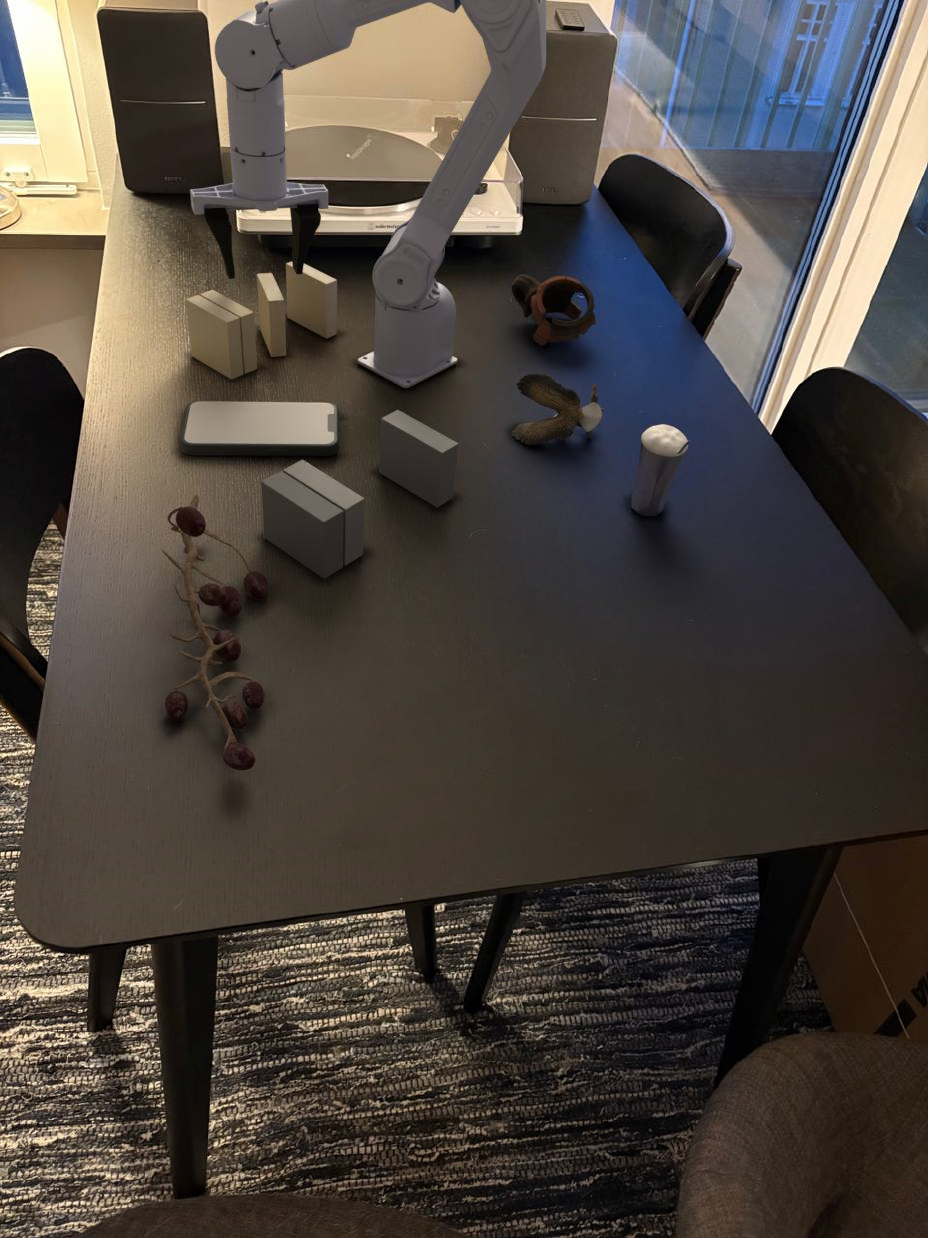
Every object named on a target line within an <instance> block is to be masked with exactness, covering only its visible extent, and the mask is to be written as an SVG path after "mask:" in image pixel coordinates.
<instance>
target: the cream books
mask: <svg viewBox="0 0 928 1238" xmlns="http://www.w3.org/2000/svg"><path fill="white" fill-rule="evenodd" d="M285 277H286V278H285V279H286V281H285V282H286V283H285V284H286V313H287V315H286V316H287V319H289V320H291V321H293V322H295V323H296V324H298V325H301V326H302V327H304V328H306V329H307V330H309V331H311V332H313V333H315V334H316V335H319V336H321V337H322V338H324V339H329V338H331V337H334V336H336V335H338V280H337V279H336V278H334V277H331V276H330V275H328V274H326V273H324V272H322V271H320V270H318V269H316V268H314V267H312V266H310V265H308V264H306V263H304V266H303V274H299V275H297V274H296V272H295V270H294V268H293V264H292V261H289V262H286V263H285ZM185 306H186V307H185V308H186V315H187V325H188V333H189V342H190V343H189V344H190V352H191V356H192V357H193V358H194V359H195V360H197V361H199V362H201V363H203V364H204V365H206V366H208V367H210V368H211V369H213V370H214V371H216V372H218V373H219V374H221V375H223V376H224V377H226V378H228V379H230V380H234V379H237V378H239V377H241V376H243V375H246V374H249V373H250V372H253V371H255V370H257V369H258V362H257V345H256V344H257V343H256V328H255V313H254V311H252V310H251V309H249V308H247V307H246V306H243V305H241V304H240V303H238V302H236V301H234V300H233V299H230V298H229V297H227V296H225V295H223V294H222V293H220V292H218V291H216V290H214V289H210V290H208V291H205V292H202V293H200V294H197V295H193V296H191V297H188V298H186V299H185Z"/></svg>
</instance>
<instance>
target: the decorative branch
mask: <svg viewBox="0 0 928 1238" xmlns="http://www.w3.org/2000/svg"><path fill="white" fill-rule="evenodd" d="M199 501H200V496H199V495H198V494H195V495H194V496H193V498H192V499H191V501H190V504H189V506H180V507H177V508H175V509H173V510H171V511H170V512H169V513H168V515H167V522H168V523H169V524H170V526H171V527H170V530H171V531H173V532H174V533H175V532H176V533H179V534H180V536H181V539H182V542H183V544H184V546H185V547H184V549H183V552H184V554H187V555H186V558H185V560H184V563H183V564H181V563H179V562H178V561H176V560H175V559H174V558H173V557H172V556H171V555H169V554H168V553H167V552H166V551H165V550H164V549H162V548H160V550H161V552H162V553H163V554H164V555H165V556H166V557H167V559H168V560H169V561H170V562H171V563H172V564H173V565H174V566H175V567H176V568H177V570H179V571H180V572H181V573H182V576H183V582H184V587H185V588H184V589H185V592H186V597H187V598H183V596H181V593H180V591H179V589H178V586H177V584H176V582H173V586H174V591H175V594H176V595H177V597H178V599H179V600H180V601H181V602H187V608H188V610H189V614H190V617H191V620H192V623H193V624H194V627H195V630H196V633H195V634H194V635H193V636H191V637H189V638H183V637H181V636H176V635H173V634H168V635H169V637H171V638H172V639H174V640H178V641H180V642H183V643H187V644H189V643H192V642H193V641H195V640H197V639H200V640H201V642H202V643H203V644H204V646H205V648H206V652H205V653H204V656H202V657H199V656H195V655H191V654H189V653H186V652H184V651H183V650H179V654H180V655H182V656H183V657H185V658H187V659H189V660H191V661H194V662H197V663H199V664H200V665H199V669H198V672H197V673H196V674H195V675H194V676H192V677H191V678H189V679H188V680H186V681H185V682H183V683H181V684H180V685H178V686H176V687H175V688H173V690H174V691H170V692H169V693H168V694H167V695H166V698H165V702H164V707H165V712H166V714H167V717H168V718H169V719H170V720H171V721H173V722H180V721H182V720H183V719H184V718H185V717H186V714H187V710H188V707H189V701H188V697H187V695H186V694H185V693H184V692H183V691H180V690H179V689H181V688H183V687H185V686H188V685H190V684H193V683H195V682H200V685H201V686H202V689H203V692H204V694H205V697H206V699H207V703H206V706H205V709H208V708H209V706H211V708H212V709H213V711H214V713H215V715H216V717H217V718H218V719H219V721H220V722H221V724H222V727H223V729H224V732H225V734H226V737H227V740H226V743H225V746H224V749H223V753H222V757H223V762H224V763H225V764H226V765H227V766H228V767H229V768H231V769H233V770H236V771H248V770H250V769H252V768H253V767H254V765H255V763H256V756H255V753H254V752H253V751H252V750H251V748H249V746H246V745H244V744H242V743H239V742H238V740H237V739H236V737H235V735H234V732H233V730H232V728H233V729H235V730H242V729H244V728H246V727H247V726H248V723H249V716H248V713H247V711H246V710H245V708H244V707H243V705H241V704H240V703H238V702H236V701H229V700H230V699H234V698H237V694H229V695H227V696H226V697H224V698H223V699H220V698H219V697H217V696H215V694H214V692H213V689H214V687H215V686H216V685H217V684H218V683H220V682H221V681H222V680H226V679H241V680H246V681H249V682H247V683H246V684H244V686H243V687H242V693H241V695H242V700H243V702H244V703H245V705H246V707H248V709H250V710H259V709H261V707H262V706H264V702H265V696H266V695H265V689H264V687H263V685H262V684H261V683H260V682H257V681H254V678H252V677H251V676H249V675H247V674H244V673H240V672H237V671H227V672H224V673H220V674H219V675H217V676H215V677H214V678H213V679H210V680H209V679H208V677H207V668H208V666H209V665H210V666H217V665H218V666H219V665H223V662H222V661H224V662H227V663H229V662H230V663H234V662H236V661H237V660H239V659H240V656H241V654H242V653H241V652H242V645H241V641H240V639H239V637H238V636H237V635H236V633H234V632H233V631H231V630H228V629H224V630H223V629H220V628H219V627H217V626H214V625H211V624H208V623H207V622H203V620H202V619H201V609H200V603H199V602H198V601H197V597H196V594H197V595H198V598H199V600H200V601H201V603H203V604H205V606H210V607H217V608H218V609H219V611H220V612H221V613H222V614H223V615H224V616H226V617H229V618H235V617H237V616H238V615H239V614H240V613H241V611H242V608H243V596H242V594H241V592H240V590H239V589H237V588H236V587H234V586H230V585H227V584H225V583H224V582H223V581H221V580H219V579H217V578H215V577H213V576H212V575H210V574H208V573H206V572H205V571H203V570H202V569H201V568H200V567H199V565H198V564H197V562H196V560H198V561H200V562H205V561H206V556H205V555H202V556H201V555H199V554H198V553H199V552H198V549H197V548H196V547H195V545H194V542H193V540H192V538H198V537H200V536H202V535H203V534H204V535H206V536H207V537H210V538H213V539H214V540H216V541H218V542H219V543H221V544H224V545H227V546H229V547H231V548H232V549H233V550H234V551H236V553H237V554H238V556H239V557H240V558H241V559H242V561H243V563H244V565H245V567H246V568H247V571H248V573H246V574H245V576H244V577H243V581H242V583H243V584H242V587H243V589H244V592H245V593H246V595H247V596H248V597H250V598H251V599H253V600H255V601H263V600H265V599H266V598H267V596H268V594H269V591H270V585H269V581H268V578H267V577H266V576H265V574H263V573H262V572H260V571H257V570H253V571H250V567H249V565H248V563H247V561H246V559H245V558H244V556H243V554H242V553H241V552H240V551H239V550H238V549H237V548H236V547H235V546H233V544H231V543H230V542H228V541H226V540H224V539H222V538H221V537H219V536H218V535H216V534H215V533H213V532H212V531H211V530H209V529H207V522H206V519H205V517H204V515H203V514H202V513H201V511H200V510H198V506H199ZM174 514H175V523H174V522H172V521H171V519H172V516H173V515H174ZM192 570H196V571H197V572H198V573H199V574H201V575H202V576H203V577H204V578H207V579H209V580H211V581H213V582H216V583H217V584H216V583H211V582H208V583H204V584H203V585H202V586H201V587H200V588H195V587H194V584H193V571H192ZM219 584H220V585H222V586H223V587H221V586H220V585H219ZM206 629H207V630H210V631H215V632H216V633H215V634H214V636H213V640H212V638H211V636H210V635H209V634H208V632H207V630H206ZM215 654H216V655H217V656H218V657H219V658H220V659H221V660H222V661H218V660H217V661H216V660H212V658H213V657H214V655H215ZM226 702H227V703H226ZM220 704H224V705H222V707H221V706H220Z"/></svg>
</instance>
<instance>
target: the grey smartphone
mask: <svg viewBox="0 0 928 1238" xmlns="http://www.w3.org/2000/svg"><path fill="white" fill-rule="evenodd" d="M339 422H340V421H339V408H338V406H337V405H336V404H335V403H333V402H329V401H260V400H259V401H258V400H256V401H255V400H254V401H253V400H250V401H249V400H194V401H191V402H189V403H188V404H187V405H186V407H185V412H184V417H183V421H182V428H181V433H180V438H179V444H180V449H181V451H182V452H183V453H184V454H185V455H189V456H251V457H252V456H260V457H265V456H268V457H269V456H270V457H271V456H273V457H276V456H277V457H280V456H281V457H284V456H285V457H289V456H290V457H329V456H333V455H335V454H337V453H338V451H339V450H340V435H339V434H340V430H339V429H340V428H339V427H340V426H339V425H340V424H339Z"/></svg>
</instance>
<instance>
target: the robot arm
mask: <svg viewBox="0 0 928 1238" xmlns="http://www.w3.org/2000/svg"><path fill="white" fill-rule="evenodd" d="M429 3H430V4H432V5H435V6H437V7H439V8H441V9H443V10H445V11H447V12H449V13H451V14H455V13H457V11H458V9H460V7H462V9H463V12H464V13H465V14H466V17H467V18H468V20H469V21H470V23H471V24H472V25H473V27H474V28H475V30H476V31H477V33H478V34H479V36H480V37H481V40H482V42H483V46H484V49H485V53H486V55H487V60H488V63H489V67H490V72H489V74H488V75H487V77H486V80H485V81H484V83H483V85H482V87H481V89H480V91H479V93H478V95H477V96H476V97H475V100H474V102H473V103H472V105H471V107H470V109H469V111H468V113H467V114H466V116H465V118H464V120H463V122H462V123H461V126H460V127H459V129H458V131H457V133H456V135H455V137H454V138H453V139H452V142H451V144H450V145H449V147H448V149H447V150H446V151H447V152H446V153H445V154H444V157H443V158H442V160H441V162H440V164H439V166H438V168H437V169H436V172H435V173H434V175H433V177H432V179H431V181H430V182H429V184H428V186H427V188H426V190H425V192H424V193H423V195H422V197H421V199H420V201H419V203H418V205H417V206H416V208H415V210H414V212H413V214H412V216H411V217H410V218H409V219H408V220H407V221H405V222H403V223H401V224H399V225H398V227H396V228H395V229H394V231H393V233H392V235H391V237H390V241H389V243H388V244H387V246H386V248H385V249H384V251H383V253H382V254H381V256H379V258H378V259H377V260H376V262H375V263H374V266H373V269H372V275H371V276H372V277H371V278H372V284H373V288H374V290H375V300H374V301H375V303H374V304H375V305H374V331H373V332H374V333H373V335H374V336H373V351H372V352H369V353H367V354H365V355H363V356H361V357H358V359H357V364H359V365H361V367H365V368H366V369H368V370H369V371H372V372H373V373H375V374H377V375H379V376H381V377H383V379H386V380H388V381H390V382H392V383H394V384H395V385H397V386H399V387H401V388H403V389H409V388H411V387H413V386H415V385H417V384H419V383H420V382H421V383H422V382H423V381H425V380H427V379H429V378H431V377H433V376H434V375H436V374H439V373H440V372H443V371H444V370H446V369H448V368H450V367H452V366H455V365H456V364H457V363H458V360H459V359H458V358H457V357H455V356H453V355H454V354H453V353H454V342H455V333H456V321H457V305H456V302H455V299H454V297H453V295H452V292H450V291H449V289H448V288H447V287H446V286H445V285H443V284H442V283H440V282H438V281H437V279H436V278H435V276H436V273H437V271H438V269H439V268H440V267H441V265H442V264H443V261H444V259H445V254H446V253H445V250H446V249H445V245H446V244H447V242H448V241H449V238H450V236H451V235H452V233H453V231H454V229H455V228H456V226H457V224H458V223H459V221H460V220H461V217H462V215H463V214H464V212H465V211H466V208H467V207H468V206H469V204H470V202H471V200H472V198H473V197H474V195H475V193H476V191H478V188H479V187H480V185H481V184H482V182H483V180H484V178H485V176H486V174H487V173H488V172H489V169H490V168H491V166H492V165H493V163H494V161H495V159H496V157H497V156H498V154H499V152H500V151H501V149H502V147H503V145H504V144H505V143H506V140H507V139H508V137H509V136H510V133H511V131H513V128H514V127H515V125H516V123H517V122H518V120H519V118H520V116H521V115H522V113H523V111H524V109H525V108H526V106H527V105H528V103H529V101H530V99H531V97H532V96H533V94H534V93H535V91H536V89H537V87H538V85H539V84H540V81H541V80H542V77H543V75H544V72H545V70H546V66H547V0H276V1H273V2H271V3H269V1H268V0H261V1H259V2H258V3H255V5H254V9H255V10H254V9H253V10H252V9H251V10H249V11H246V12H244V13H243V14H241V15H239V16H238V17H236V18H235V19H233V20H232V21H230V22H229V23H227V24H226V25H225V26H224V27H222V29H221V30H220V31H219V33H218V34H217V37H216V39H215V43H214V56H215V61H216V64H217V67H218V69H219V70H220V72H221V74H222V75H223V76H224V78H225V88H226V107H227V121H228V134H229V135H228V137H229V138H228V139H229V149H230V150H229V151H230V166H231V167H230V168H231V179H232V182H231V183H230V182H229V183H224V184H220V185H215V186H209V187H203V188H193V189H192V188H191V189H189V194H190V195H189V196H190V205H191V209H192V212H193V214H194V215H196V216H197V215H203V217H204V219H205V221H206V224H207V226H208V229H209V230H210V231H211V233H212V235H213V237H214V239H215V242H216V244H217V245H218V248H219V250H220V253H221V256H222V257H221V258H222V260H223V264H224V269H225V270H224V271H225V274H226V276H227V278H228V279H229V280H234V279H236V270H235V264H234V263H235V262H234V256H233V234H232V233H233V226H232V223H231V221H230V216H229V213H228V211H229V212H230V211H253V210H258V211H259V212H275V211H277V210H278V209H289V212H290V213H289V214H290V222H291V223H290V225H291V237H292V239H291V245H292V246H291V262H292V264H293V268H294V270H295V272H296V274H297V275H299V274H303V266H304V264H305V261H306V258H307V254H308V252H309V251H308V250H309V247H310V245H311V242H312V240H313V238H314V236H315V234H316V232H317V230H318V229H319V227H320V225H321V222H322V214H321V213H320V211H319V210H328V209H329V189H328V188H327V187H326V186H325V184H309V183H298V182H288V173H287V172H288V171H287V147H286V144H287V143H286V115H285V114H286V113H285V111H286V109H285V96H284V73H283V71H284V70H285V71H286V70H287V71H293V70H296V69H298V68H301V67H303V66H306V65H309V64H311V63H314V62H316V61H318V60H321V59H324V58H326V57H328V56H332V55H334V54H336V53H339V52H342V51H344V50H346V49H348V48H350V46H351V44H352V42H353V38H354V35H355V32H356V30H357V28H360V27H362V26H365V25H368V24H371V23H373V22H374V23H375V22H377V21H380V20H382V19H385V18H388V17H390V16H393V15H396V14H399V13H402V12H405V11H408V10H411V9H414V8H416V7H419V6H421V5H425V4H429Z"/></svg>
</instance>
